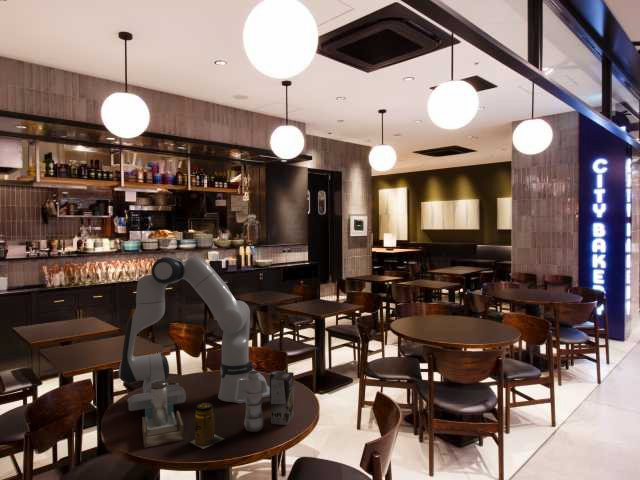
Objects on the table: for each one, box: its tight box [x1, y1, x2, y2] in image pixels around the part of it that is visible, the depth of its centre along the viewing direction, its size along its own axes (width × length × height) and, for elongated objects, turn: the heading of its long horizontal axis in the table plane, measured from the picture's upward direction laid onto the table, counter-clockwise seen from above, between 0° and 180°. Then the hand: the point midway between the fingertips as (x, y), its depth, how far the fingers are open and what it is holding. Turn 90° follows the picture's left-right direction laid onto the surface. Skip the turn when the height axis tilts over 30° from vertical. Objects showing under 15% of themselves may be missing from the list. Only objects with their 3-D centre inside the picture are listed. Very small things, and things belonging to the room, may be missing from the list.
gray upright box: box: [269, 369, 286, 402], centre depth 175 cm, size 7×7×12 cm
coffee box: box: [270, 371, 295, 426], centre depth 159 cm, size 9×6×16 cm
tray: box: [144, 403, 177, 436], centre depth 152 cm, size 10×13×6 cm
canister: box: [151, 380, 168, 426], centre depth 152 cm, size 5×5×14 cm
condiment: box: [190, 402, 225, 450], centre depth 143 cm, size 7×8×12 cm
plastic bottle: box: [243, 370, 264, 433], centre depth 150 cm, size 6×7×20 cm
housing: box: [141, 410, 185, 449], centre depth 146 cm, size 12×12×5 cm
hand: (159, 406), depth 158 cm, fingers closed, pressing on tray
